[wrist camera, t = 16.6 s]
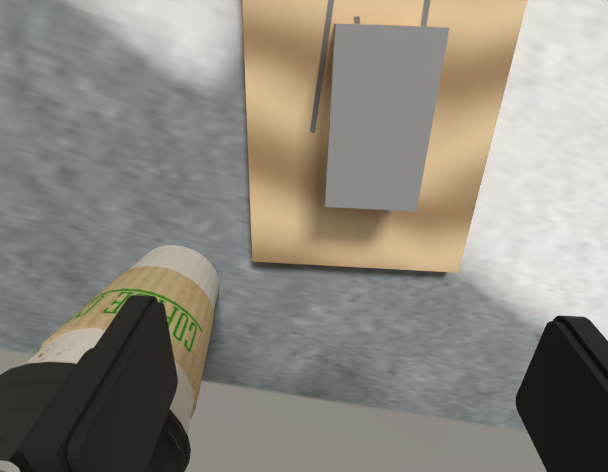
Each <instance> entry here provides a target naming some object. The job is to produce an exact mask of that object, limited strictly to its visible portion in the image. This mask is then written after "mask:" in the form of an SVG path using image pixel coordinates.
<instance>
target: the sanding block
mask: <svg viewBox="0 0 608 472" xmlns="http://www.w3.org/2000/svg"><path fill="white" fill-rule="evenodd" d="M448 34H449V28H443V27H428V26H403V25H373V24H342V23H334V39H333V56H332V74H331V91H330V108H329V126H328V143H327V161H326V185H325V207H336V208H356V209H377V210H397V211H417V206H418V201H419V195H420V190H421V184H422V178H423V173H424V167H425V162H426V156H427V151H428V145H429V139H430V134H431V128H432V123H433V117H434V112H435V106H436V100H437V95H438V89H439V84H440V78H441V73H442V67H443V61H444V56H445V50H446V45H447V39H448Z"/></svg>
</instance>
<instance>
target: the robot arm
mask: <svg viewBox="0 0 608 472" xmlns="http://www.w3.org/2000/svg"><path fill="white" fill-rule="evenodd" d="M177 385H178V376H177V371H176V365H175V360H174V354H173V349H172V343H171V338H170V332H169V327H168V321H167V316H166V310H165V306H164V304H163V303H162V302H158V300H157V298H156V297H155V296H143V295H131V296H129V297H128V298H127V300H126V301H125V303H124V304H123V306H122V307H121V309H120V310H119V311H118V313H117V314H116V316H115V317H114V319H113V320H112V322H111V323H110V325H109V326H108V327H107V329H106V330H105V332H104V333H103V335H102V336H101V338H100V339H99V341H98V342H97V344H96V345H95V346H94V348H91V349H89V350H87V351H86V352H85V353H84V354H83V355H82V357H81V358H80V360H79V361H78V362H77V364H76V365H75V367H74V368H73V370H72V371H71V372H70V374H69V375H68V377H67V378H66V379H65V381H64V382H63V384H62V385H61V387H60V388H59V389H58V391H57V392H56V394H55V395H54V397H53V398H52V399H51V401H50V402H49V404H48V405H47V406H46V408H45V409H44V411H43V412H42V414H41V415H40V416H39V418H38V419H37V421H36V422H35V424H34V425H33V426H32V428H31V429H30V431H29V432H28V434H27V435H26V436H25V438H24V439H23V441H22V442H21V443H20V445H19V446H18V448H17V449H16V451H15V452H14V453H13V455H12V456H11V458H10V459H9V461H2V460H0V472H145V471H146V468H147V466H148V463H149V460H150V458H151V455H152V453H153V450H154V448H155V445H156V442H157V440H158V437H159V435H160V432H161V430H162V427H163V424H164V422H165V419H166V417H167V414H168V412H169V409H170V406H171V404H172V401H173V399H174V396H175V393H176V390H177ZM516 407H517V410H518V413H519V415H520V417H521V419H522V421H523V423H524V425H525V427H526V429H527V431H528V433H529V435H530V437H531V440H532V442H533V443H534V446H535V448H536V450H537V452H538V453H539V456H540V458H541V460H542V462H543V464H544V466H545V468H546V470H547V472H608V341H607V340H606V338H605V337H604V336H603V335H602V334H601V333H600V332H599V330H598V329H597V328H596V327H595V326H594V325H593V323H592V322H591V321H590V320H589V319H587V318H585V317H576V316H557V317H556V318H554V320H553V321H551V322H549V323H547V325H546V327H545V329H544V332H543V334H542V336H541V339H540V341H539V343H538V346H537V348H536V351H535V353H534V355H533V358H532V360H531V362H530V365H529V367H528V369H527V372H526V374H525V376H524V379H523V381H522V384H521V386H520V388H519V391H518V393H517V396H516Z"/></svg>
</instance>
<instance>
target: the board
mask: <svg viewBox="0 0 608 472" xmlns="http://www.w3.org/2000/svg"><path fill="white" fill-rule="evenodd" d="M526 4H527V0H242V9H243V35H244V60H245V85H246V111H247V136H248V162H249V187H250V213H251V238H252V262H271V263H289V264H308V265H326V266H344V267H363V268H381V269H400V270H418V271H436V272H455V273H458V271H459V267H460V263H461V259H462V255H463V251H464V248H465V244H466V240H467V236H468V232H469V228H470V224H471V220H472V216H473V212H474V208H475V204H476V200H477V196H478V192H479V188H480V185H481V181H482V177H483V173H484V169H485V165H486V161H487V157H488V153H489V149H490V145H491V141H492V137H493V133H494V129H495V126H496V122H497V118H498V114H499V110H500V106H501V102H502V98H503V94H504V90H505V86H506V82H507V78H508V74H509V70H510V66H511V63H512V59H513V55H514V51H515V47H516V43H517V39H518V35H519V31H520V27H521V23H522V19H523V15H524V11H525V7H526ZM334 23H342V24H373V25H403V26H428V27H443V28H449V34H448V39H447V45H446V50H445V56H444V61H443V67H442V73H441V78H440V84H439V89H438V95H437V100H436V106H435V112H434V117H433V123H432V128H431V134H430V139H429V145H428V151H427V156H426V162H425V167H424V173H423V178H422V184H421V190H420V195H419V201H418V206H417V211H397V210H377V209H356V208H336V207H325V185H326V161H327V143H328V126H329V108H330V91H331V74H332V56H333V39H334Z"/></svg>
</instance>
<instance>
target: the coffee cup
mask: <svg viewBox="0 0 608 472" xmlns="http://www.w3.org/2000/svg"><path fill="white" fill-rule="evenodd" d="M218 290H219V279H218V276H217V273H216V271H215V269H214V267H213V266H212V264H211V263H210V262H209V261H208V260H207V259H206V258H205V257H204V256H202V255H201V254H200V253H198V252H196V251H194V250H192V249H189V248H187V247H183V246H178V245H166V246H160V247H157V248H154V249H153V250H151V251H150V252H148V253H147V254H146V255H145V256H144V257H143V258H142V259H140V260H139V261H138V262H137V263H136V264H135V265H134V266H133V267H132V268H131V269H129V270H127V271H126V272H124V273H122V274H121V275H119V276H118V277H117V278H116V279H115V280H114V281H113V282H111V283H110V284H109V285H108V286H107V287H106V288H105V289H104V290H102V291H101V292H100V293H99V294H98V295H97V296H96V297H94V298H93V299H92V300H91V301H90V302H89V303H88V304H87V305H85V306H84V307H83V308H82V309H81V310H80V311H79V312H77V313H76V314H75V315H74V316H73V317H72V318H71V319H70V320H68V321H67V322H66V323H65V324H64V325H63V326H62V327H60V328H59V329H58V330H57V331H56V332H55V333H54V334H53V335H51V336H50V337H49V338H48V339H47V340H46V341H45V342H44V343H43V344H42V345H41V346H40V348H39V350H38V353H37V354H35V355H34V356H33V357H32V358H31V359H30V360H29V361H28V362H27V363H26V364H24V365H22V366H19V367H15V368H11V369H9V370H7V371H6V372H4V373H2V374H1V375H0V460H2V461H9V459H10V458H11V456H12V455H13V453H14V452H15V451H16V449H17V448H18V446H19V445H20V443H21V442H22V441H23V439H24V438H25V436H26V435H27V434H28V432H29V431H30V429H31V428H32V426H33V425H34V424H35V422H36V421H37V419H38V418H39V416H40V415H41V414H42V412H43V411H44V409H45V408H46V406H47V405H48V404H49V402H50V401H51V399H52V398H53V397H54V395H55V394H56V392H57V391H58V389H59V388H60V387H61V385H62V384H63V382H64V381H65V379H66V378H67V377H68V375H69V374H70V372H71V371H72V370H73V368H74V367H75V365H76V364H77V362H78V361H79V360H80V358H81V357H82V355H83V354H84V353H85V352H86V351H87V350H89V349H91V348H94V346H95V345H96V344H97V342H98V341H99V339H100V338H101V336H102V335H103V333H104V332H105V330H106V329H107V327H108V326H109V325H110V323H111V322H112V320H113V319H114V317H115V316H116V314H117V313H118V311H119V310H120V309H121V307H122V306H123V304H124V303H125V301H126V300H127V298H128V297H129V296H131V295H143V296H155V297H156V298H157V300H158V302H162V303H163V304H164V306H165V310H166V316H167V321H168V327H169V332H170V338H171V343H172V349H173V354H174V360H175V365H176V371H177V376H178V385H177V390H176V393H175V396H174V399H173V401H172V404H171V406H170V409H169V412H168V414H167V417H166V419H165V422H164V424H163V427H162V430H161V432H160V435H159V437H158V440H157V442H156V445H155V448H154V450H153V453H152V455H151V458H150V460H149V463H148V466H147V468H146V471H145V472H184V471H185V469H186V467H187V465H188V463H189V460H190V452H191V449H190V444H189V439H188V436H187V431H188V427H189V422H190V418H191V417H192V415H193V412H194V410H195V408H196V403H197V399H198V394H199V389H200V384H201V379H202V375H203V370H204V365H205V360H206V356H207V351H208V346H209V341H210V336H211V332H212V327H213V320H214V314H213V313H214V309H215V304H216V300H217V295H218Z"/></svg>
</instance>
